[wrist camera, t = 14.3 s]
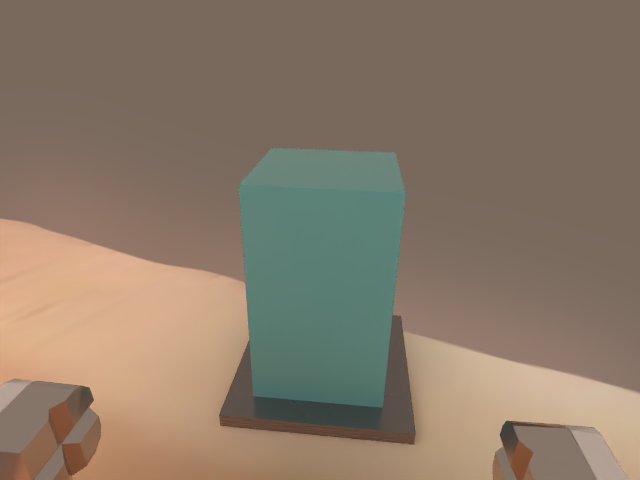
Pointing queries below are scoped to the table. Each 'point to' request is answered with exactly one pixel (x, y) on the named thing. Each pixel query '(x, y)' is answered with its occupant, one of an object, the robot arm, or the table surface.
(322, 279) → the teal upright pillar
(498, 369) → the table surface
